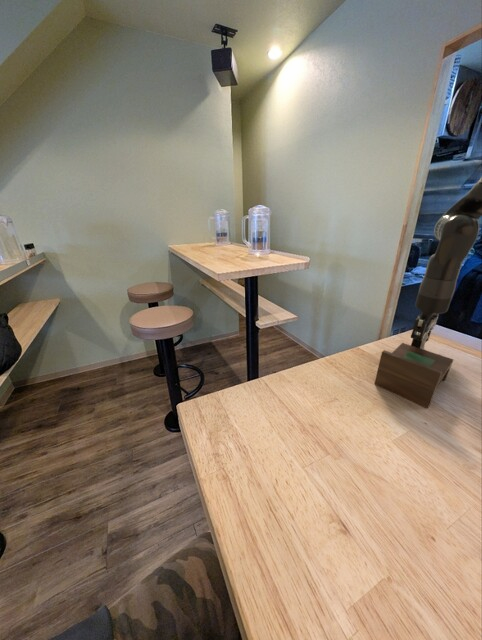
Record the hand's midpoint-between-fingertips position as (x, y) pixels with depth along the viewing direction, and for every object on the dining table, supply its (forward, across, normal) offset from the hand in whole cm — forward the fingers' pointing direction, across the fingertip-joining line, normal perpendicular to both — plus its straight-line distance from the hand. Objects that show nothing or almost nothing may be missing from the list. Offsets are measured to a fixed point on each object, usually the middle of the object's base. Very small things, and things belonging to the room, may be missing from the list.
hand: (419, 344), depth 75 cm
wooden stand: (+4, -14, -3) cm, 15 cm away
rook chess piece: (+4, 0, 0) cm, 4 cm away
